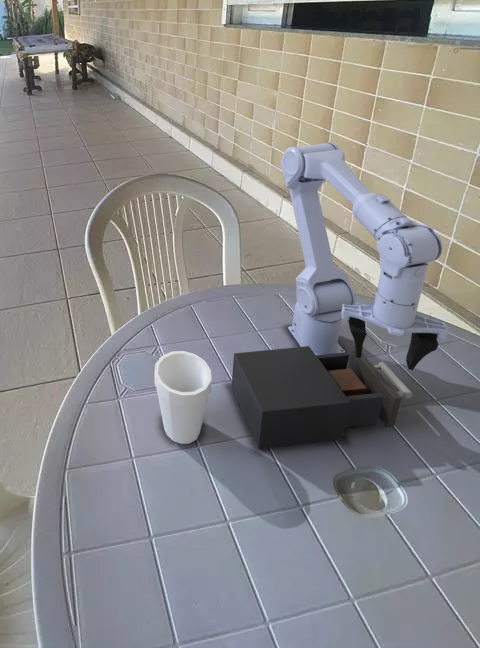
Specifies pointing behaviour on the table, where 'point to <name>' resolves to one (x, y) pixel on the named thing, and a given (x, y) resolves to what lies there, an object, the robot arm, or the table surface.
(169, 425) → the foam cup
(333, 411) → the black drawer box
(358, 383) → the block
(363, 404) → the sliding drawer
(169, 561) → the table surface
